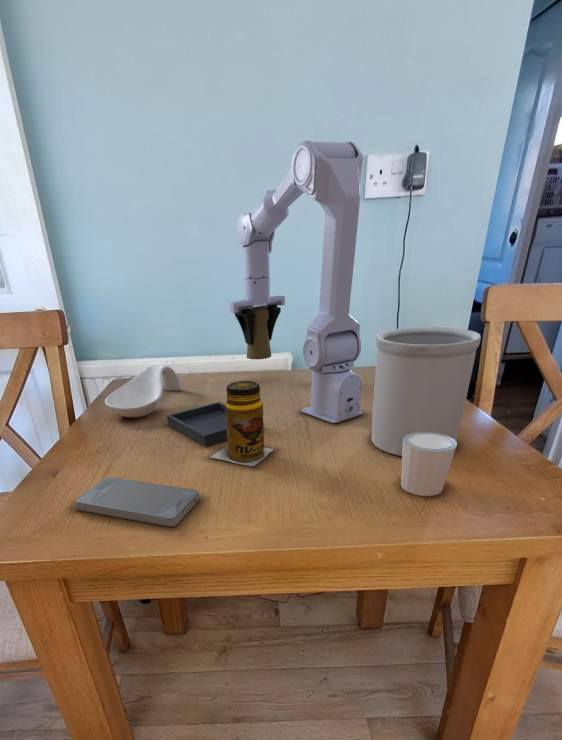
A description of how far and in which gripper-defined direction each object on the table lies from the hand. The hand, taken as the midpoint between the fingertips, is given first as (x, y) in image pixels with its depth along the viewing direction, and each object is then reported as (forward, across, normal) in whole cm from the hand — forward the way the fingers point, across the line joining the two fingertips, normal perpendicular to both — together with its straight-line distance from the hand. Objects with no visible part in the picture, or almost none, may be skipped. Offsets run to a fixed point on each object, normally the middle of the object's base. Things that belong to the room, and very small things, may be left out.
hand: (258, 341), depth 110 cm
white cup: (+10, +15, +58) cm, 61 cm away
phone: (+10, +49, +37) cm, 62 cm away
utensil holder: (+10, +3, +47) cm, 49 cm away
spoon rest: (+10, +29, -3) cm, 30 cm away
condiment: (+10, +28, +32) cm, 44 cm away
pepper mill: (+4, 0, 0) cm, 4 cm away
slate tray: (+10, +25, +18) cm, 33 cm away
